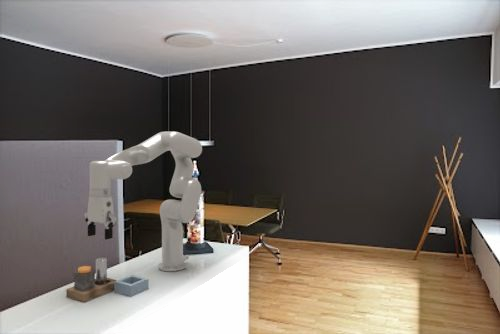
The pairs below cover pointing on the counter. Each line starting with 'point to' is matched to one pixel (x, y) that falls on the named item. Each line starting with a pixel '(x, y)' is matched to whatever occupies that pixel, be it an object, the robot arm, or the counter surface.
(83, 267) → the release button
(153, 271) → the counter surface
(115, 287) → the blue-grey square frame
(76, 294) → the socket block
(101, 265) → the grey smooth thick cylinder
